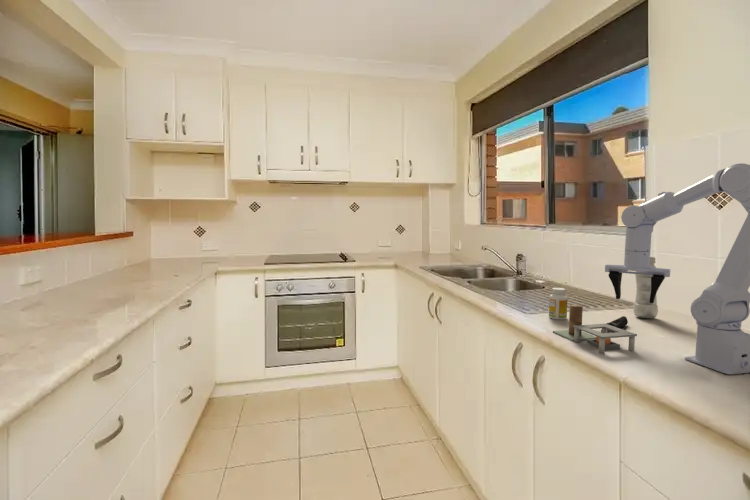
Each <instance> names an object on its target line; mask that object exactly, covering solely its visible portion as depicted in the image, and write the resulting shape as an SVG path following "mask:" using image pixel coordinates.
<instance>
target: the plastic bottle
mask: <svg viewBox="0 0 750 500" xmlns="http://www.w3.org/2000/svg"><path fill="white" fill-rule="evenodd" d="M656 263H657V262H656V257H654V256H650V267H653V268H657V267H656V265H655V264H656ZM635 272H642V271H635ZM642 273H645V272H642ZM634 275H635V282H636V294H635V301H634V304H633V308H632V310H633V313H634V315H635V316H636V317H639V318H642V319H655V318H656V317H658V313H659V309H658V308H659V307H658V300H657V299H658V298H657V295H656V296H655V299H654V303H650V294H651V277H652V276H653V275H641V274H634Z"/></svg>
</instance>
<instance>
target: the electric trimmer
mask: <svg viewBox="0 0 750 500" xmlns="http://www.w3.org/2000/svg"><path fill="white" fill-rule="evenodd" d="M628 323H629V322H628V318H627V317H626V316H625V315H624V316H621V317H618V318H617V319H614V320H612V321H609V322H607V323H605V324H608V325H611V326H614V327H617V328H620V329H623V330H625V328H626V326H627V324H628ZM600 332H601V333H602V329H601V330H600ZM607 333H615V332H614V331H611V330H608V329H607Z"/></svg>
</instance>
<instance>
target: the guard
mask: <svg viewBox="0 0 750 500" xmlns="http://www.w3.org/2000/svg"><path fill="white" fill-rule="evenodd" d="M573 327H574V328H575V330H574V341H573V342H574V343H580V340H579V333H580V330H581V331H583V332H585V333H588V334H590V335H593V336H595V337H596V336H597V337H599V343H596V339H588V340H586V344H587V345H590V346H592V347H594V348H597V349H598V354H603V355H604V354H605V351H606V350H619V349H621V344H619V343H617V342H614V341H612V340H611V342H610V345H605V338H611V339H615V338H628V349H627V350H628V351H629V352H635V344H636V342H635V341H636V337H637V336H638V334H636V333H634V332H631V331H628V330H626V329H620V328H617V327H614V326H611V325H608V324H606V323H594V324H582V325H576V326H573ZM596 329H599V330H600V329H601V330H602V333H601V331H598V330H596ZM607 329H608V330H611V331H614V332H615V333H607Z"/></svg>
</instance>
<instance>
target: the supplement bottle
mask: <svg viewBox="0 0 750 500" xmlns="http://www.w3.org/2000/svg"><path fill="white" fill-rule="evenodd" d="M551 293H552V294H550V295H549V297H548V298H549V302H548V304H549V305H548V317H549V318H550V319H552V320H560V321H561V320H567V317H568V296H567V295H565V294H566V288H564V287H552V288H551Z"/></svg>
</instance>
